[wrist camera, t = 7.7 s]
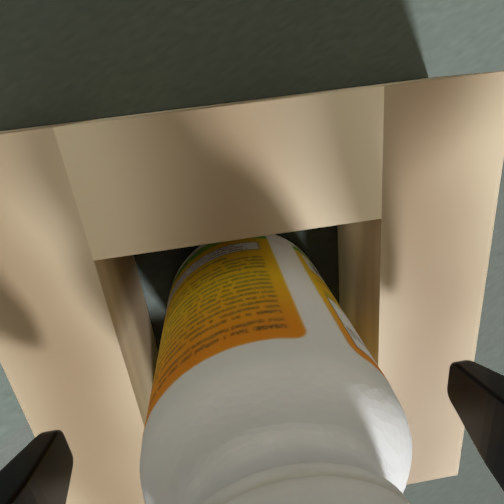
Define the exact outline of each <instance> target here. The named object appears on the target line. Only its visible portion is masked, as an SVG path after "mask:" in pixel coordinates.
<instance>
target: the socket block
mask: <svg viewBox="0 0 504 504" xmlns="http://www.w3.org/2000/svg"><path fill="white" fill-rule="evenodd" d="M503 159H504V71H497V72H486V73H475V74H465V75H454V76H443V77H433V78H424V79H416V80H408V81H400V82H392V83H384V84H376V85H368V86H360V87H352V88H344V89H336V90H328V91H319V92H311V93H303V94H295V95H287V96H279V97H271V98H263V99H255V100H247V101H239V102H231V103H223V104H215V105H207V106H199V107H191V108H183V109H175V110H167V111H159V112H151V113H143V114H135V115H127V116H119V117H111V118H103V119H95V120H87V121H79V122H71V123H63V124H55V125H47V126H38V127H30V128H22V129H14V130H6V131H0V363H1V365H2V367H3V369H4V371H5V373H6V376H7V378H8V380H9V382H10V384H11V386H12V388H13V391H14V393H15V395H16V397H17V399H18V401H19V403H20V406H21V408H22V410H23V412H24V414H25V416H26V418H27V421H28V423H29V425H30V427H31V429H32V431H33V433H34V436H35V437H36V436H37V435H39V434H40V433H42V432H46V431H52V430H61V431H62V432H63V433H64V436H65V438H66V440H67V443H68V445H69V447H70V450H71V452H72V455H73V469H72V474H71V480H70V485H69V490H68V495H67V500H66V504H145V501H144V498H143V492H142V487H141V482H140V456H141V447H142V437H143V432H144V427H145V422H146V417H147V412H148V406H149V401H150V395H151V390H152V385H153V380H154V374H155V369H156V364H157V358H158V353H159V351H158V347H157V343H156V340H155V336H154V332H153V328H152V324H151V320H150V316H149V312H148V308H147V305H146V301H145V297H144V293H143V289H142V285H141V281H140V277H139V274H138V270H137V266H136V262H135V258H134V255H136V254H143V253H149V252H156V251H163V250H170V249H177V248H184V247H190V246H197V245H204V244H211V243H218V242H225V241H232V240H238V239H245V238H252V237H259V236H266V235H273V234H280V233H286V232H293V231H300V230H307V229H314V228H321V227H328V226H334V225H337V229H338V267H339V305H340V307H341V309H342V310H343V312H344V313H345V315H346V316H347V318H348V319H349V321H350V323H351V324H352V326H353V327H354V329H355V331H356V332H357V334H358V335H359V337H360V338H361V340H362V342H363V343H364V345H365V346H366V348H367V349H368V351H369V352H370V354H371V355H372V357H373V359H374V360H375V362H376V363H377V365H378V367H379V368H380V370H381V371H382V372H383V374H384V376H385V377H386V379H387V380H388V382H389V384H390V385H391V387H392V389H393V391H394V393H395V395H396V397H397V398H398V400H399V402H400V404H401V406H402V408H403V410H404V413H405V415H406V418H407V421H408V424H409V428H410V433H411V438H412V461H411V468H410V472H409V476H408V480H407V483H406V485H407V484H412V483H417V482H422V481H428V480H433V479H438V478H444V477H449V476H454V475H458V469H459V462H460V455H461V448H462V441H463V434H464V425H463V423H462V421H461V419H460V418H459V416H458V414H457V412H456V410H455V408H454V407H453V405H452V403H451V401H450V399H449V397H448V393H447V384H448V376H449V368H450V365H451V363H453V362H457V361H463V360H471V361H473V362H474V358H475V352H476V345H477V338H478V331H479V324H480V317H481V310H482V303H483V297H484V290H485V283H486V276H487V269H488V262H489V255H490V248H491V242H492V235H493V228H494V221H495V214H496V207H497V200H498V193H499V186H500V180H501V173H502V166H503Z"/></svg>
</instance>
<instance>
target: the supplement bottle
mask: <svg viewBox="0 0 504 504" xmlns="http://www.w3.org/2000/svg"><path fill="white" fill-rule="evenodd" d="M411 461H412V438H411V433H410V428H409V424H408V421H407V418H406V415H405V413H404V410H403V408H402V406H401V404H400V402H399V400H398V398H397V397H396V395H395V393H394V391H393V389H392V387H391V385H390V384H389V382H388V380H387V379H386V377H385V376H384V374H383V372H382V371H381V370H380V368H379V367H378V365H377V363H376V362H375V360H374V359H373V357H372V355H371V354H370V352H369V351H368V349H367V348H366V346H365V345H364V343H363V342H362V340H361V338H360V337H359V335H358V334H357V332H356V331H355V329H354V327H353V326H352V324H351V323H350V321H349V319H348V318H347V316H346V315H345V313H344V312H343V310H342V309H341V307H340V305H339V304H338V302H337V301H336V299H335V297H334V296H333V294H332V293H331V291H330V289H329V288H328V286H327V285H326V283H325V281H324V280H323V279H322V277H321V275H320V274H319V272H318V271H317V269H316V268H315V266H314V265H313V263H312V262H311V261H310V260H309V258H308V257H307V256H306V255H305V254H304V252H303V251H301V250H300V249H299V248H298V247H297V246H296V245H294V244H293V243H292V242H290V241H288V240H286V239H284V238H282V237H280V236H278V235H275V234H273V235H266V236H259V237H252V238H245V239H238V240H232V241H225V242H218V243H211V244H204V245H200V246H199V247H198V248H196V249H195V250H194V251H193V252H192V253H191V254H190V255H189V256H188V257H187V258H186V260H185V261H184V262H183V264H182V265H181V267H180V268H179V270H178V272H177V274H176V276H175V278H174V281H173V284H172V287H171V290H170V294H169V299H168V303H167V310H166V316H165V321H164V326H163V331H162V337H161V342H160V347H159V353H158V358H157V364H156V369H155V374H154V380H153V385H152V390H151V395H150V401H149V406H148V412H147V417H146V422H145V427H144V432H143V437H142V447H141V456H140V482H141V487H142V492H143V498H144V501H145V504H410V503H409V502H408V500H407V499H406V497H405V496H404V495H403V492H404V489H405V487H406V483H407V480H408V476H409V472H410V468H411Z"/></svg>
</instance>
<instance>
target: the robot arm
mask: <svg viewBox="0 0 504 504" xmlns="http://www.w3.org/2000/svg"><path fill="white" fill-rule="evenodd" d="M447 393H448V397H449V399H450V401H451V403H452V405H453V407H454V408H455V410H456V412H457V414H458V416H459V418H460V419H461V421H462V423H463V425H464V427H465V428H466V430H467V432H468V434H469V436H470V437H471V439H472V441H473V443H474V445H475V446H476V448H477V450H478V452H479V454H480V455H481V457H482V459H483V460H484V462H485V464H486V465H487V467H488V468H489V470H490V471H491V473H492V474H493V476H494V477H495V479H496V480H497V482H498V483H499V485H500V486H501V488H502V489H503V491H504V376H503V375H501V374H499V373H497V372H494V371H492V370H490V369H488V368H486V367H484V366H482V365H480V364H477V363H475V362H473V361H471V360H463V361H457V362H453V363H451V365H450V368H449V376H448V384H447ZM72 469H73V455H72V452H71V450H70V447H69V445H68V443H67V440H66V438H65V436H64V433H63V432H62V431H61V430H52V431H46V432H42V433H40V434H39V435H37V436H36V437H35V438H34V439H33V440H32V441H31V442H30V443H29V444H28V445H27V446H26V447H25V448H24V449H23V450H22V451H21V452H20V453H18V454H17V455H16V456H15V457H14V458H13V459H12V460H11V461H10V462H9V463H8V464H7V465H6V466H5V467H4V468H3V469H2V470H1V471H0V504H66V500H67V495H68V490H69V485H70V480H71V474H72Z"/></svg>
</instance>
